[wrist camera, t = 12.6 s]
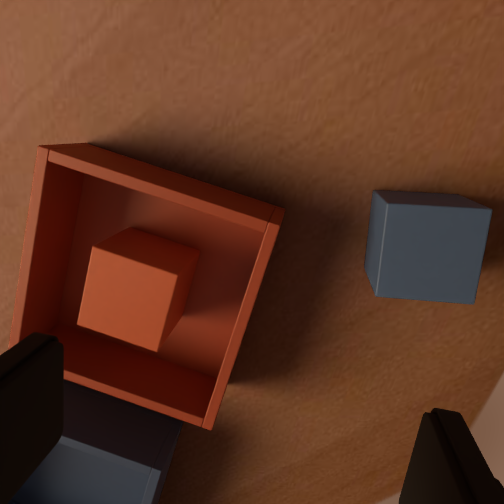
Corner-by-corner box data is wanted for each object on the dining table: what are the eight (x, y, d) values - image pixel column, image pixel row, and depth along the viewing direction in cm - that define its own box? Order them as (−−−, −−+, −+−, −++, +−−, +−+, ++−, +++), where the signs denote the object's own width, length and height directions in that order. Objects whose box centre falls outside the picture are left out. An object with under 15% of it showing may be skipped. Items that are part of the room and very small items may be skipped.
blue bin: (183, 420, 29) (161, 471, 25) (144, 547, 33) (119, 610, 28) (16, 362, 30) (-34, 401, 25) (-4, 493, 33) (-51, 547, 29)
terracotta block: (201, 250, 25) (178, 275, 21) (182, 316, 26) (157, 353, 22) (128, 226, 25) (91, 245, 21) (113, 293, 27) (76, 324, 22)
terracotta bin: (286, 208, 24) (280, 225, 20) (226, 385, 28) (211, 431, 24) (84, 142, 25) (37, 145, 20) (52, 324, 28) (6, 358, 24)
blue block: (459, 194, 23) (493, 209, 19) (445, 274, 24) (474, 305, 20) (372, 189, 23) (386, 202, 19) (363, 268, 25) (375, 297, 20)
